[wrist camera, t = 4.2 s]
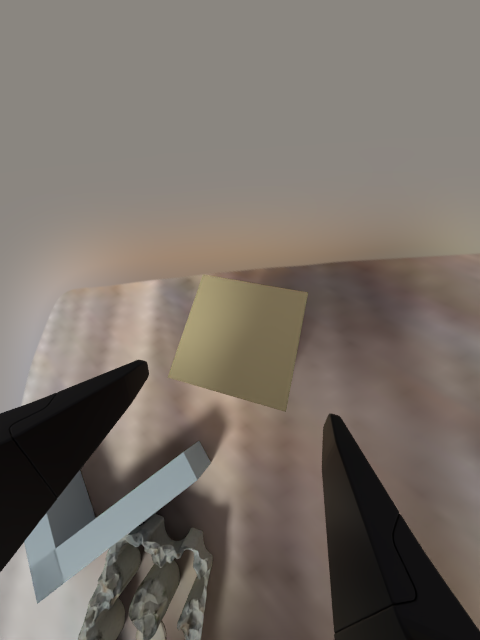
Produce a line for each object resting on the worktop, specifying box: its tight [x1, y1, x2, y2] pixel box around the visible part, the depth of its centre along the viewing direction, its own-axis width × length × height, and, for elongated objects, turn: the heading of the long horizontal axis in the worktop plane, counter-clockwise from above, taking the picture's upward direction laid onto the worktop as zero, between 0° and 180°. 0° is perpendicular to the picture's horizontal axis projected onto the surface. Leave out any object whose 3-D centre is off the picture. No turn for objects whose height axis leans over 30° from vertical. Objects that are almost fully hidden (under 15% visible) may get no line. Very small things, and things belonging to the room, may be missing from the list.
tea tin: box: [168, 275, 308, 412], centre depth 15 cm, size 5×5×11 cm
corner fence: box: [24, 441, 211, 604], centre depth 17 cm, size 10×12×4 cm
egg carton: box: [78, 514, 213, 640], centre depth 14 cm, size 11×8×4 cm
